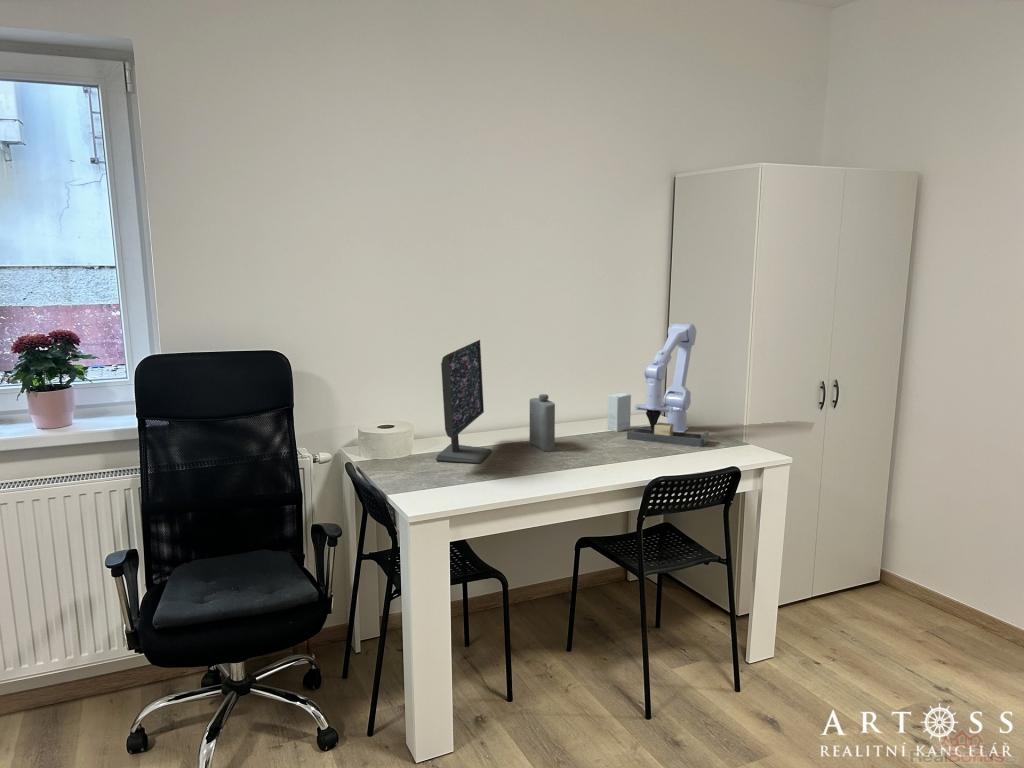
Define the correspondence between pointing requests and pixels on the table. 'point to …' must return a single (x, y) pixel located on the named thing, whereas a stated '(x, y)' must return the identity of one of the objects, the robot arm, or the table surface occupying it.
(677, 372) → the robot arm
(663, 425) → the maple block
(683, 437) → the chute
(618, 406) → the skincare box
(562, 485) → the table surface
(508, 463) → the table surface
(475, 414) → the computer monitor
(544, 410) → the flask
